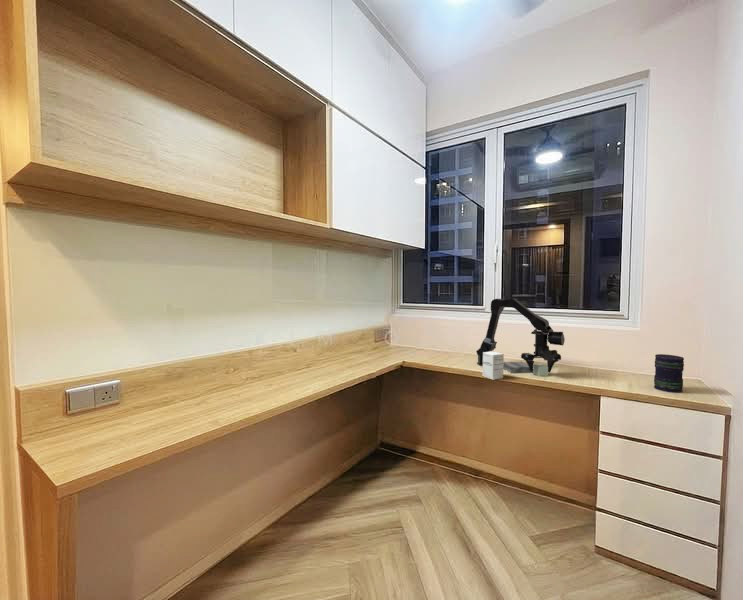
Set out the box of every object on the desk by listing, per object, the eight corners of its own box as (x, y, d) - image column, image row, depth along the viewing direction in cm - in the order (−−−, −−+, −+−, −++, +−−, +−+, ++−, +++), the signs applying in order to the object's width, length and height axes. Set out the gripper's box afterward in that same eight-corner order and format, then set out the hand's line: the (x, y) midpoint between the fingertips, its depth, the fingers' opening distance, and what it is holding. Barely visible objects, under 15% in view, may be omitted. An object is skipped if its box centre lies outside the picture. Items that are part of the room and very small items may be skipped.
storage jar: (669, 386, 157) (671, 354, 156) (689, 393, 147) (690, 359, 146) (647, 386, 157) (649, 354, 156) (665, 392, 147) (667, 359, 146)
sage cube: (538, 376, 174) (538, 366, 174) (533, 373, 179) (533, 364, 179) (547, 376, 175) (548, 366, 175) (542, 373, 180) (542, 364, 180)
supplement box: (481, 376, 174) (482, 352, 174) (492, 374, 177) (493, 350, 177) (492, 380, 168) (493, 354, 167) (503, 378, 171) (504, 353, 170)
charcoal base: (510, 373, 180) (511, 367, 180) (500, 367, 192) (501, 362, 192) (532, 372, 181) (532, 367, 181) (521, 367, 193) (521, 361, 193)
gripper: (532, 346, 168) (531, 377, 168) (568, 345, 169) (567, 376, 170) (520, 342, 179) (520, 371, 180) (554, 341, 180) (554, 370, 181)
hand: (540, 372), depth 177 cm, fingers open, 9 cm apart
